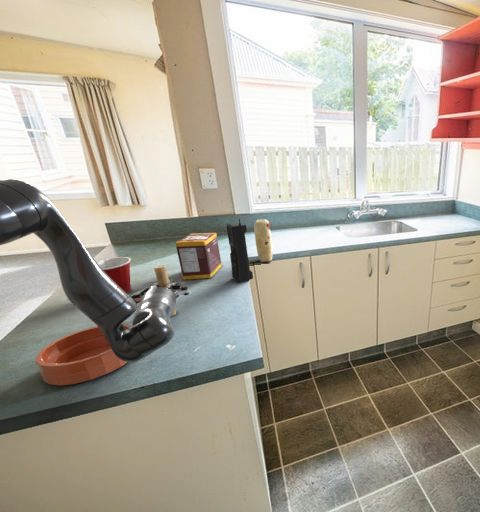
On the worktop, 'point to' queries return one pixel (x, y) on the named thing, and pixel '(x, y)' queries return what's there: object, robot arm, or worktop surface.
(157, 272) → the stirring stick
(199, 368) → the worktop surface
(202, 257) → the supplement box
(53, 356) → the bowl
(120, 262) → the plastic cup
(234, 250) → the portable radio
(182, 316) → the worktop surface
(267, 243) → the food model
